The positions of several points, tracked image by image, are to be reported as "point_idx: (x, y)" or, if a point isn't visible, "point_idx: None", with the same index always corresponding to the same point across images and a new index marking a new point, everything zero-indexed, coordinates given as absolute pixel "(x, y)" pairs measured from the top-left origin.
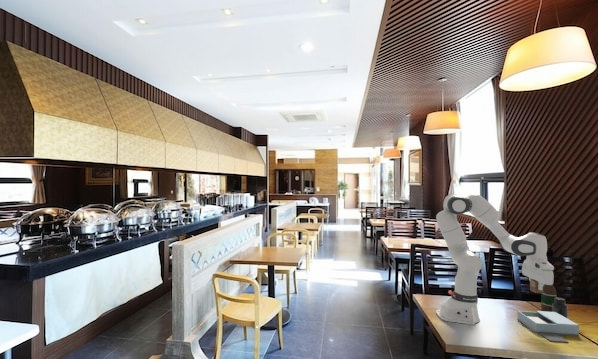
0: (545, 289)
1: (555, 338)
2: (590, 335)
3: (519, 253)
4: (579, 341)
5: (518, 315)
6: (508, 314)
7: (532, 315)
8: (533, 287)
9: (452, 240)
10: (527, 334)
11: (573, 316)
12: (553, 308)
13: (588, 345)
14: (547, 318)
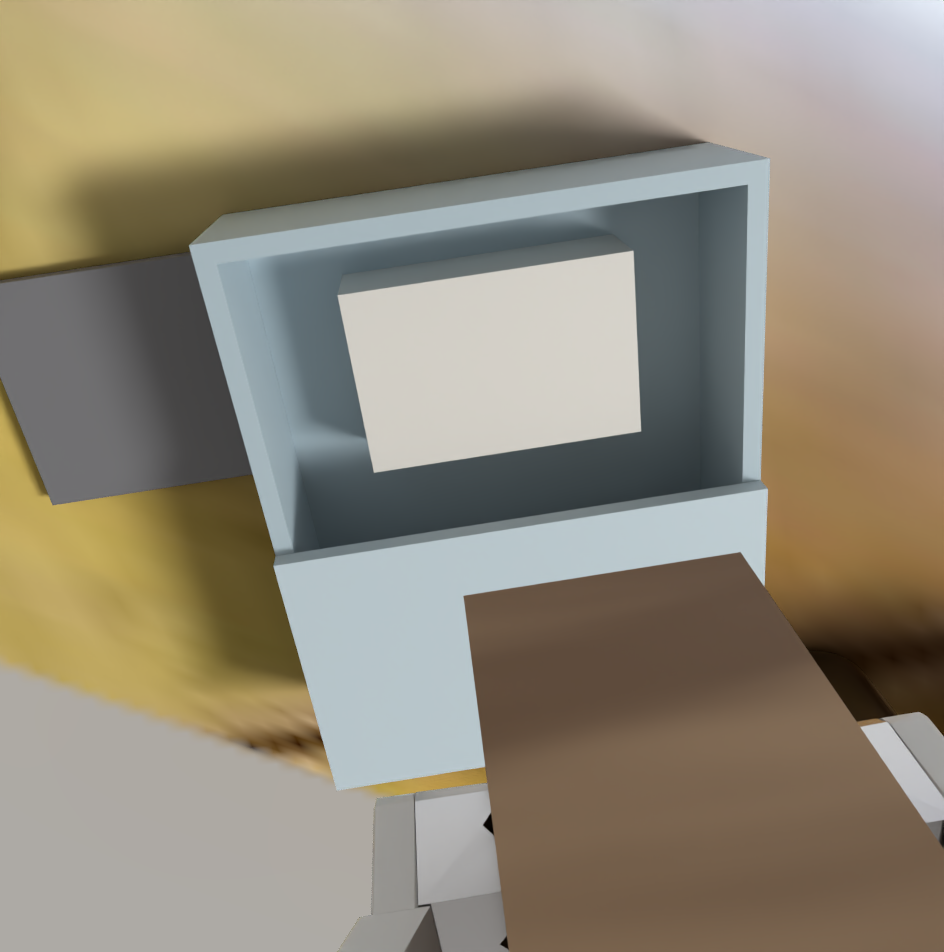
0: None
1: (79, 392)
2: (407, 792)
3: None
4: (177, 633)
5: (705, 154)
6: (917, 75)
7: (721, 393)
8: (576, 711)
9: None
10: (94, 30)
11: None
12: None
13: (100, 671)
14: (493, 524)
